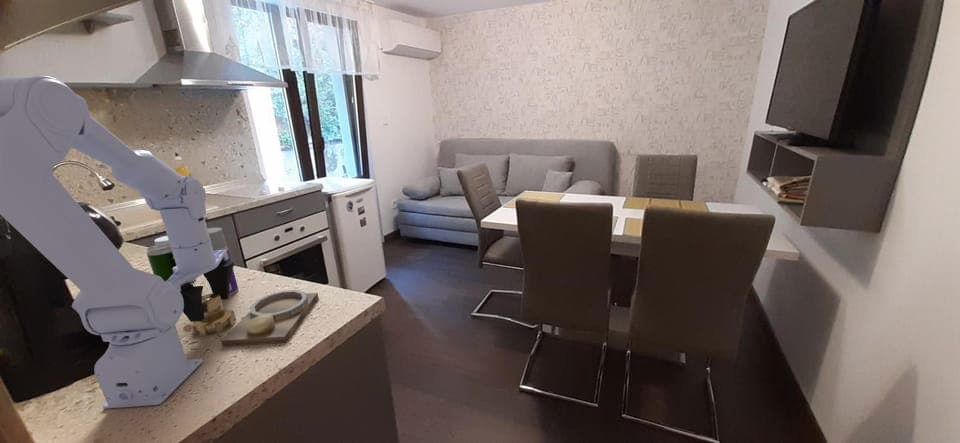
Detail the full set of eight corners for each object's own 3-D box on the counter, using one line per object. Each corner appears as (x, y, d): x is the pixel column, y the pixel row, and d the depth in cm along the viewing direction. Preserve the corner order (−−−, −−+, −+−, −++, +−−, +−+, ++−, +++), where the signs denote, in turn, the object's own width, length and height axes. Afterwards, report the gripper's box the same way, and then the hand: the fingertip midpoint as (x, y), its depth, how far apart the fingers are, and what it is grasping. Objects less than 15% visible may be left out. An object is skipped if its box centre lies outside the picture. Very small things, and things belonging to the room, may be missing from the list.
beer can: (160, 304, 81) (143, 253, 77) (162, 294, 85) (146, 245, 81) (191, 296, 84) (176, 246, 80) (191, 287, 88) (177, 240, 84)
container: (243, 287, 87) (227, 227, 82) (228, 297, 82) (211, 234, 78) (224, 287, 87) (208, 227, 82) (209, 297, 83) (190, 234, 78)
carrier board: (285, 342, 66) (282, 329, 65) (222, 346, 65) (218, 333, 64) (318, 297, 81) (316, 286, 80) (267, 300, 80) (264, 289, 79)
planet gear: (222, 335, 68) (214, 306, 67) (184, 337, 68) (175, 309, 66) (242, 315, 75) (235, 288, 73) (208, 317, 75) (200, 290, 73)
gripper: (195, 230, 73) (213, 291, 77) (134, 260, 59) (159, 332, 63) (231, 228, 73) (247, 289, 78) (179, 257, 60) (202, 330, 64)
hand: (210, 309), depth 70 cm, fingers open, 7 cm apart
